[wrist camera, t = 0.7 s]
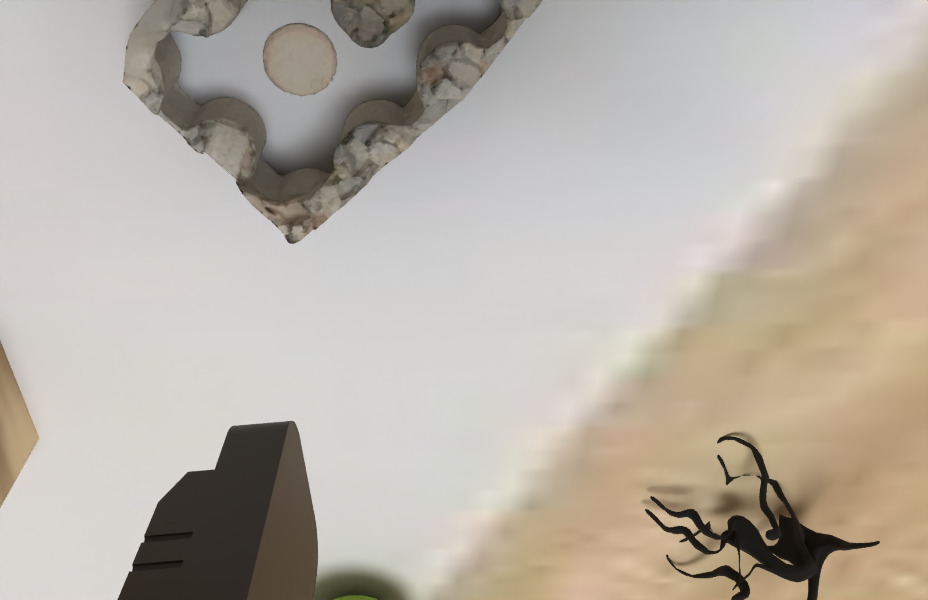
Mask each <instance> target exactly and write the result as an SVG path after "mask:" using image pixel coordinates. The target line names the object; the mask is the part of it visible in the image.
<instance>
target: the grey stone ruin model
mask: <svg viewBox="0 0 928 600" xmlns="http://www.w3.org/2000/svg"><path fill="white" fill-rule="evenodd" d="M499 1H500V4H501V7H502V13H501V15H500V16H499V17H498V19H497V20H496V21H495V22H494V23H493V24H492V25H491V26H490V27H488V28H487V29H486V30H484V31H483V32H482V33H480V34H479V33H477V32H476V31H474V30H472V29H470V28H468V27H466V26H460V25H445V26H442V27H441V28H439V29H437V30H435V31H433V32H431V33H430V34H429V35H428V36H427V38H426V39H425V40H424V41H423V44H422V46H421V48H420V50H419V52H418V56H417V65H416V81H417V90H416V92H415V93H414V95H413V96H412V98H411V99H410V101H409V102H408V103H407V105H406V106H405V107H400V106H399V105H398V104H396V103H393V102H390V101H388V100H372V101H367V102H364V103H361V104H360V105H358V106H357V107H355V108H354V109H353V110H352V112H351V113H350V115H349V116H348V117H347V119H346V122H345V126H344V129H343V133H342V138H341V142H340V143H339V144H338V145H337V147H336V150H335V154H334V157H333V161H334V170H333V171H332V172H331V173H329V174H327V173H325V172H323V171H321V170H318V169H312V168H303V169H297V170H295V171H292V172H290V173H287V174H285V175H282V176H281V175H279V174H278V173H276V172H275V171H274V170H273V169H272V168H271V167H270V166H269V165H268V164H266V163H265V162H264V161H263V160H262V158H261V157H260V156H261V153H262V150H263V147H264V145H265V142H266V129H265V125H264V122H263V120H262V118H261V117H260V116H259V114H258V113H257V112H256V111H255V110H254V109H253V108H252V107H250V106H249V105H247V104H245V103H243V102H241V101H239V100H236V99H234V98H227V97H225V98H217V99H214V100H211V101H209V102H207V103H205V104H204V105H202V106H200V105H198V104H196V103H195V102H193V100H192V99H191V98H190V96H188V95H187V94H186V93H185V92H184V91H183V90H182V89H181V88H180V87H179V85H178V81H177V80H178V78H179V74H180V71H181V62H182V59H181V54H180V51H179V49H178V46H177V44H176V42H175V41H174V40H173V39H172V38H171V36H170V34H169V32H171V31H179V32H184V33H187V34H191V35H194V36H204V37H206V38H208V37H209V36H210V35H213V34H216V33H219V32H221V31H223V30H224V29H226V28H227V27H228V26H229V25H230V24H231V23H232V22H233V21H234V19H235V18H236V17H237V15H238V14H239V12H240V10H241V9H242V8H243V6H244V5H245V3H246V2H247V0H156V2H155V3H154V4H153V5H152V6H151V7H150V8H149V10H148V11H147V12H146V13H145V14H144V15H143V17H142V18H141V19H140V21H139V22H138V24H137V25H136V26H135V28H134V29H133V31H132V32H131V34H130V37H129V40H128V43H127V46H126V56H125V67H124V78H123V83H124V84H125V85H126V86H127V87H128V88H129V89H130V90H131V91H132V92H133V93H134V94H135V95H137V96H138V98H139V99H140V100H141V101H142V102H143V103H144V104H145V105H146V106H147V107H148V108H149V110H150V111H151V112H152V113H153V114H156V115H159V116H160V117H161V118H163V119H164V120H165V121H166V122H168V123H169V124H170V125H171V126H172V127H173V128H174V129H176V130H177V131H178V132H179V133H180V134H181V135H182V136H183V137H184V139H185V140H186V141H187V143H188V144H189V145H190V146H191V147H192V148H193V149H194V150H195V151H197V152H198V153H201V154H203V152H205V153H207V154H208V155H209V156H210V157H211V158H212V159H213V160H215V161H216V162H217V163H218V164H219V165H220V166H221V167H222V168H224V169H225V170H226V171H227V172H228V173H229V174H231V175H232V176H233V177H234V178H235V179H236V180H237V181H236V184H237V186H238V187H239V189H240V191H241V192H242V194H243V195H244V196H245V197H246V198H247V200H248V201H249V202H250V203H251V204H252V205H253V206H254V207H255V208H256V209H257V210H258V211H260V212H261V213H262V214H263V215H264V216H265V217H266V218H268V219H269V220H271V221H272V223H273V224H274V225H276V227H277V228H278V229H279V230H280V231H281V232H282V233H283V234H284V235H286V236H285V238H286V240H287V241H288V243H291V244H294V243H296V242H298V241H301V240H302V239H303V238H304V237H305V236H306V235H307V234H309V233H310V232H311V231H312V230H314V229H317V228H318V227H319V226H320V225H321V224H322V223H324V222H325V221H326V220H327V219H328V218H329V217H330V216H331V215H332V214H333V213H334V212H336V211H337V210H339V209H340V208H342V207H343V206H344V205H345V204H346V203H347V202H348V201H349V200H350V199H352V198H353V197H354V196H355V195H356V194H357V193H358V192H359V191H360V190H361V189H362V188H363V187H364V186H366V185H367V183H368V182H369V181H370V179H371V178H372V176H373V175H374V174H375V173H377V172H378V171H379V170H380V169H381V168H383V167H384V166H385V165H386V164H387V163H389V162H390V161H391V160H393V159H394V158H395V157H397V156H398V155H399V154H401V153H402V152H403V151H405V150H406V149H407V148H408V147H410V146H411V145H412V143H413V142H414V141H415V140H416V138H417V137H418V136H419V135H421V134H422V133H423V132H424V131H426V130H427V129H428V128H429V127H430V126H432V125H433V124H434V123H435V122H436V121H438V120H439V119H440V118H441V117H442V116H443V115H444V114H445V113H447V112H448V111H449V110H450V109H452V108H453V107H454V106H455V105H457V104H458V103H459V102H460V101H462V100H463V99H464V98H465V96H466V95H467V94H468V92H469V91H470V90H471V89H472V87H473V86H474V85H475V84H476V83H477V81H478V80H479V79H480V78H481V77H482V75H483V74H484V73H485V72H486V70H487V69H488V68H489V67H490V65H491V64H492V62H493V61H494V59H495V58H496V57H497V55H498V54H499V53H500V51H501V50H502V49H503V48H504V47H505V46H506V44H507V43H508V42H509V40H510V39H511V37H512V36H513V35H514V33H515V32H516V30H517V29H518V28H519V26H520V25H521V24H522V22H523V21H524V20H525V19H526V18H528V17H530V16H531V14H532V13H533V12H534V11H535V10H536V8H537V7H538V6H539V5H540V3H541V2H542V0H499ZM414 5H415V0H331V11H332V13H333V16H334V18H335V20H336V21H337V23H338V25H339V26H340V27H341V28H342V29H343V30H344V31H345V32H346V33H347V34H348V35H349V36H350V38H351V39H352V41H354V42H355V43H356V44H358V45H359V46H361V47H365V48H373V47H377V46H379V45H381V44H382V43H384V41H385V40H386V39H387V38H388V37H389V35H390V34H392V33H394V32H395V31H397V30H398V29H399V28H400V27H401V26H403V25H404V24H405V23H406V22H408V20H409V19H410V17H411V15H412V14H413V12H414ZM263 62H264V67H265V71H266V73H267V75H268V77H269V79H270V80H271V81H272V82H273V83H274V84H275V85H276V86H277V87H278V88H280V89H281V90H283V91H284V92H288V93H289V92H290V93H291V94H295V95H299V96H304V95H312V94H316V93H318V92H319V91H321V90H323V89H324V88H326V87H327V86H328V84H329V82H330V81H332V80H333V76H334V75H335V73H336V66H337V58H336V51H335V49H334V46H333V43H332V42H331V41H330V39H329V38H328V36H327V35H326V34H324V33H323V32H322V31H320V30H319V29H317V28H316V27H313V26H310V25H307V24H302V23H298V24H288V25H286V26H283V27H281V28H279V29H277V30H276V31H275V32H273V33H272V34H271V35H270V37H269V38H268V40H267V42H266V44H265V47H264V50H263Z"/></svg>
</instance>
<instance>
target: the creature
mask: <svg viewBox="0 0 928 600" xmlns="http://www.w3.org/2000/svg"><path fill="white" fill-rule="evenodd" d="M724 440H735V441H737V442H739V443H741V444H743V445H745V446H747V447H749V448H751V450H752V452H753V455H754V457H755V460H756V462H757V465H758V467H759V470H760V472H761V474H762V477H760V476H757V477H758V478H760V479H761V486H760V495H759V498H760V507H761V510H762V511H763V513H764V514H765V515H766V516H767V517H768V519H769V521H770V523H771V526H772V527H773V529H771V530H768V531H767V532H766V538H767V539H769V540H776V539H778V538H779V540H778V543H776V544H775V545H774V546H767V545H766V544H765V542H764V540H763V539H762V537H761V535H760V533H759V531H758V530H757V529H756V527H755V526H754V525H753V524H752V523H751V522H750V521H749V520H748V519H746V518H745V517H743V516H739V515H736V516H732V517H731V518H730V519H729V520H728V522H727V523H728V530H726V531H724V532H723V533H722V534H721V536H719V535H717V534H715V533H713V532H712V531H711V530H712V529H711V527H710V521H709V522H708V523H707V524H706V525H705V524H704V523H703V522H702V520H701V518H700V516H699V514H698V512H697V511H695V510H694V509H687V510H684V511H681V512H674V511H671V510H669V509H667V508H666V507H665V506H664V505H663V504H662V503H661V502H660V501H658V500H657V499H656V498H654V497H652V496H651V497H650V498H651V499H652V501H654V502H655V503H656V504H657V505H658V506H659V507H660V508H662V509H663V510H665V511H666V512H667V513H668V514H669V515H671V516H674V517H677V518H682V517H689V518H690V519H692V520H693V522H694V523H695V525H696V527H697V528H698V529H699V530H700V531H699V532H697V533H696V534H694V535H693V534H692V532H691V531H690V529H688V528H687V527H684V526H676V527H670V528H669V527H666V526H665V525H664V524H663V523H662V522H661V521H660V520H659V519H658V518H657V517H656V516H655V515H654V514H653V513H652V512H650V511H649V510H647V509H645V511H646V513H647V514H648V515H649V516H650V517H651V518H652V519H653V520H654V521H655V522H656V523H657V524H658V525H659V526H660V527H661V528H662V529H663V530H664V531H666V532H670V533H673V534H684V535H685V537H686V538H685V539H683V540H681V541H679V542H685V541H687V540H689V541H690V543H691V544H692V545H693V546H694V547H695V548H696V549H697V550H699V551H701V552H702V553H704V554H716V553H719V552H720V551H721V550H722V549H723V548H724V546H725V544H726V543H729V544H730V545H732V546H734V547H735V548H737V550H738V555H739V573H738V572H737V571H735V570H734V569H732V568H731V567H730V566H727V565H724V566H721V567H719V568H717V569H715V570H713V571H711V572H706V573H701V574H696V575H690V574H688V573H686V572H684V571H682V570H679V569H677V568H676V567H675V566H674V565H673V563H672V562H671V561H670V560H669V557H668V555H666V557H667V559H668V561H669V562H670V564H671V565H672V566H673V567H674V568H675V569H676V570H677V571H679V572H680V573H682V574H684V575H686V576H690V577H693V578H712V577H716V576H726V577H728V578H730V579H731V580H734V581H735V582H736V585H735V586H734V588H733V589H732V590H734V589H735V588H736V587H737V586H738V587H739V589H740V592H738V593H737V594H735V595H734V596H733V597H732V599H731V600H744V599H746V598H747V597H749V594H750V588H749V585H748V583H747V581H746V580H745V579H746V578H747V577H748V576H749V575H750V574H751V572H752V571H753V569H754V568H755V567H760V568H763V569H765V570H767V571H769V572H772V573H774V574H776V575H778V576H780V577H782V578H784V579H787V580H789V581H793V582H801V581H804V580H806V579H808V598H807V600H817V596H818V585H819V578H820V573H821V569H822V565H823V563H824V561H825V559H826V557H827V556H828V555H829V554H830V553H832V552H833V551H837V550H851V549H859V548H866V547H872V546H875V545H878V544H879V543H880V541H876V542H870V543H849V542H846V541H844V540H842V539H839V538H837V537H835V536H832V535H828V534H821V533H816V532H814V531H812V530H810V529H808V528H807V527H805V526H803V525H802V524H800V523H799V521H798V520H797V518H796V516H795V514H794V512H793V510H792V508H791V507H790V505H789V503H788V501H787V500H786V498H785V496H784V494H783V492H782V489H781V487H780V486H779V484H778V482H777V481H776V480H772V479H769V476H768V473H767V470H766V467H765V464H764V461H763V458H762V456H761V454H760V453H759V452H758V450H757V449H756V448H755V447H754V446H753V445H751V444H750V443H748V442H746V441H744V440H742V439H740V438H737V437H731V436H728V437H722V438H720V439H719V440H718V442H717V444H718V443H720V442H722V441H724ZM717 458H718V459H719V461H720V463H721V465H722V466H723V468H724V470H725V475H726V485H728V484H729V483H730V482H731V481H732V480H733V479H735V478H738V477H735V478H730V476H729V474H728V472H727V469H726V467H725V464H724V462H723V460H722V458H721V457H720V455H718V456H717ZM742 476H749V475H742ZM739 477H740V476H739ZM767 483H769V484H771V485H772V487H773V489H774V491H775V492H776V494H777V496H778V497H779V499H780V500H781V501H782V502H783V503H784V505H785V506H786V508H787V509H788V511H789V513H790V514H791V517H792V518H789V517H786V516H783V515H781V514H779V526H778V524H777V522H776V519H775V516H774V514H773V513H772V512H771V510H770V508H769V507H768V505H767V501H766V492H767ZM710 529H711V530H710ZM701 532H702V533H703V534H704V535H706V536H708V537H711V538H713V539H715V540H720V539H721V544H720V549H719V550H717V551H709V550H708V549H707V548H706V547H705V546H704V545H702V544H701V543H700V542H699V541H698V540H697V539H696V538H695V537H694V536H696V535H698V534H699V533H701ZM740 550H742V551H744V552H746V553H747V554H749V555H751V556H752V557H754V558H755V559H756V560H758V561H759V562H760V563H762V564H758V563H757V564H755V565H754V566H753V567H752V569H751V571H750V572H749V574H748V575H746V576H745V577H744V578H743V576H742V575H741V572H740ZM772 553H773V554H775V555H776V556H778V557H779V558H781V559H784V560H787V561H789V562H790V563H792V564H793V565H790V564H786V563H784V562H783V561H781V560H780V559H779V558H777V557H776V556H774V555H773V554H772Z"/></svg>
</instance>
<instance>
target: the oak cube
mask: <svg viewBox="0 0 928 600" xmlns="http://www.w3.org/2000/svg"><path fill="white" fill-rule="evenodd" d="M38 440H39V436H38V434H37V431H36V429H35V426H34V424H33V421H32V419H31V416H30V414H29V411H28V409H27V406H26V404H25V401H24V399H23V396H22V394H21V391H20V389H19V386H18V384H17V381H16V379H15V376H14V374H13V371H12V369H11V366H10V364H9V361H8V359H7V356H6V354H5V351H4V349H3V346H2V344H1V341H0V507H1V506H2V504H3V502H4V500H5V498H6V497H7V495H8V493H9V491H10V489H11V488H12V486H13V484H14V482H15V481H16V479H17V477H18V475H19V473H20V472H21V470H22V468H23V466H24V465H25V463H26V461H27V459H28V457H29V456H30V454H31V452H32V450H33V449H34V447H35V445H36V443H37V441H38Z"/></svg>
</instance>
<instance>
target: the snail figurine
mask: <svg viewBox="0 0 928 600" xmlns="http://www.w3.org/2000/svg"><path fill="white" fill-rule="evenodd" d="M333 600H378V599H375V598H372V597H368V596H362V595H349V596H343V597H339V598H336V599H333Z"/></svg>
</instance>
